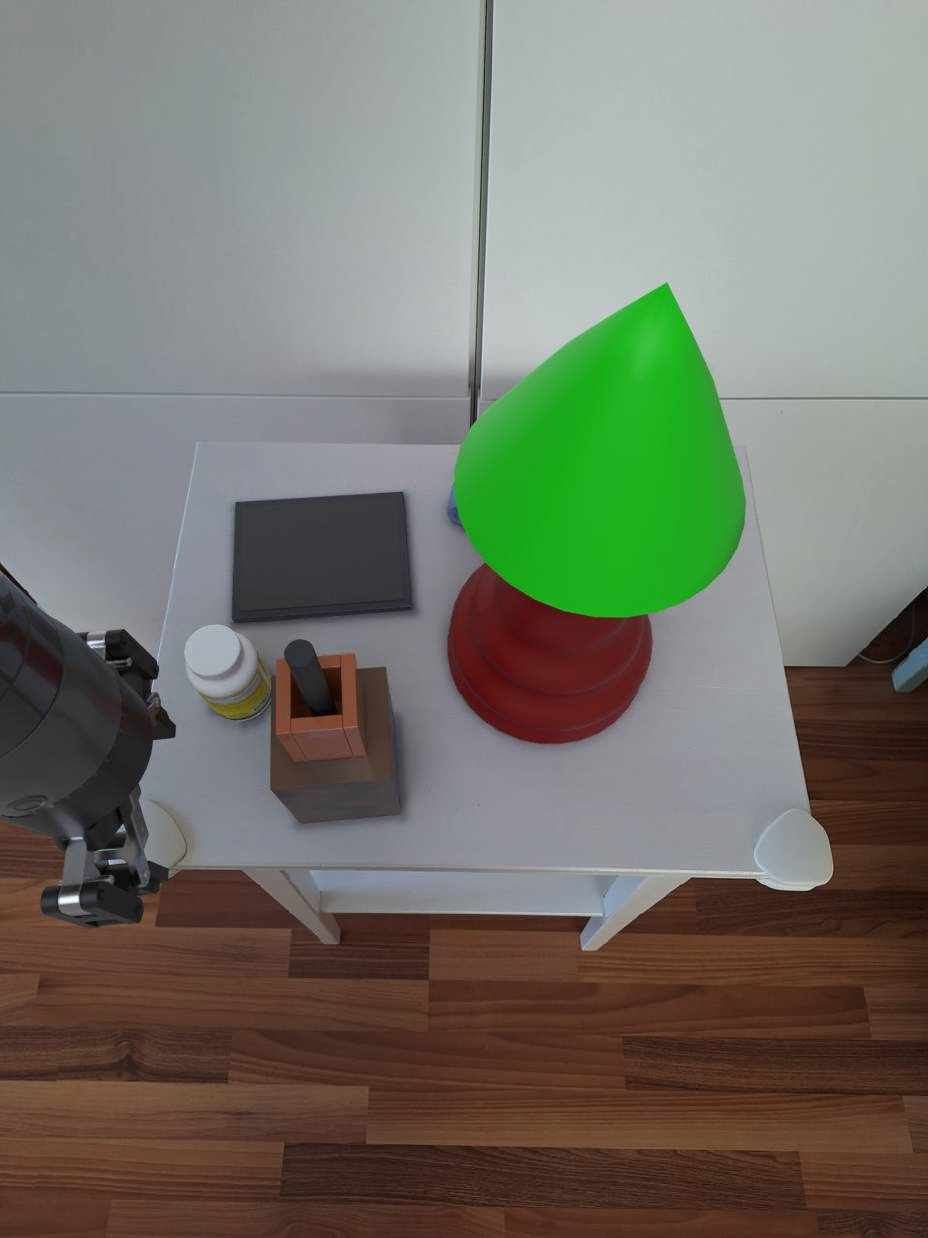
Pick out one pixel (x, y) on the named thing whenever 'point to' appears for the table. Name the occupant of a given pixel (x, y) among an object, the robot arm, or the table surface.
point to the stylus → (310, 677)
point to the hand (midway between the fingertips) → (155, 803)
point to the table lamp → (590, 522)
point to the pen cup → (322, 733)
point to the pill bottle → (227, 673)
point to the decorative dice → (453, 507)
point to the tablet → (320, 557)
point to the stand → (343, 766)
